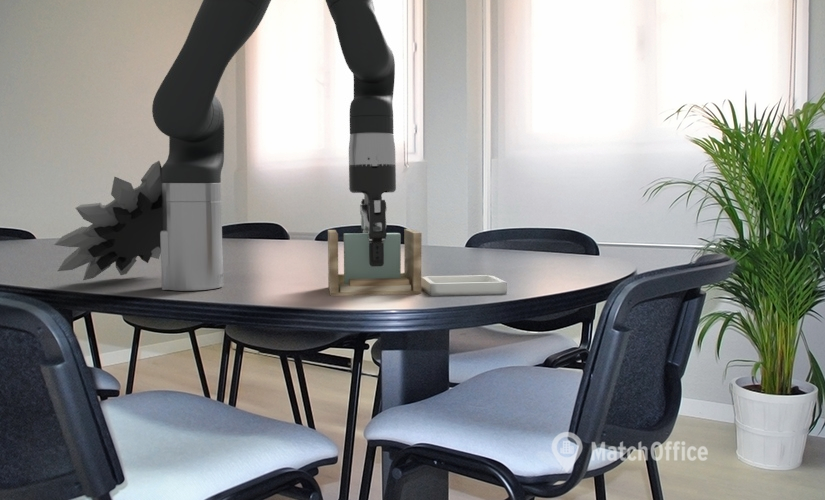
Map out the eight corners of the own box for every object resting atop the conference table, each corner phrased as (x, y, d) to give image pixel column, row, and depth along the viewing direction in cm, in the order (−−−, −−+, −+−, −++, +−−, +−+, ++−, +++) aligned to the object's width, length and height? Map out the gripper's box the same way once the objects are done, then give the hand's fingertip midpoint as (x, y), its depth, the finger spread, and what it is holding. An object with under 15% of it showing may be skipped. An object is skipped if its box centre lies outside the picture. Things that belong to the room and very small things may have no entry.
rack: (330, 296, 102) (329, 233, 101) (328, 287, 112) (327, 229, 111) (421, 294, 104) (421, 232, 103) (411, 285, 114) (411, 229, 113)
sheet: (345, 287, 108) (344, 234, 107) (344, 284, 111) (343, 233, 110) (400, 286, 109) (400, 234, 108) (398, 283, 112) (398, 232, 111)
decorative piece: (93, 314, 124) (29, 242, 97) (82, 299, 125) (16, 223, 98) (231, 226, 135) (208, 140, 108) (220, 213, 136) (195, 124, 110)
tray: (430, 296, 102) (430, 283, 102) (420, 288, 111) (420, 276, 111) (506, 295, 104) (507, 282, 104) (491, 286, 113) (491, 275, 112)
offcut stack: (340, 292, 103) (340, 281, 103) (339, 289, 106) (339, 279, 105) (411, 290, 104) (411, 280, 104) (408, 287, 107) (408, 277, 107)
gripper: (346, 165, 114) (348, 259, 116) (351, 161, 100) (354, 268, 102) (389, 164, 116) (391, 258, 117) (401, 161, 102) (402, 267, 103)
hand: (373, 263), depth 109 cm, fingers open, 8 cm apart
